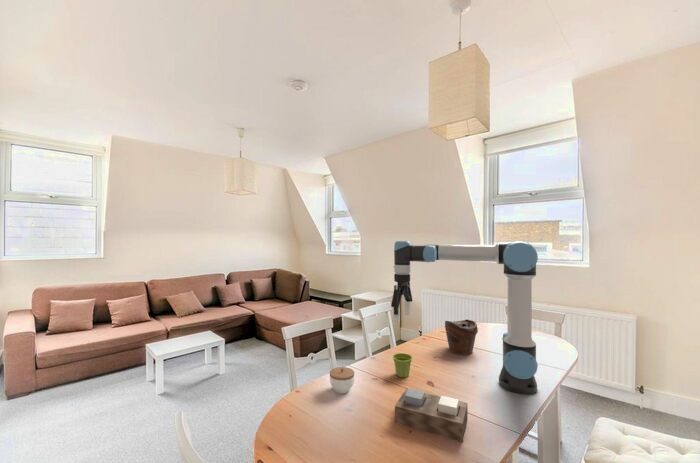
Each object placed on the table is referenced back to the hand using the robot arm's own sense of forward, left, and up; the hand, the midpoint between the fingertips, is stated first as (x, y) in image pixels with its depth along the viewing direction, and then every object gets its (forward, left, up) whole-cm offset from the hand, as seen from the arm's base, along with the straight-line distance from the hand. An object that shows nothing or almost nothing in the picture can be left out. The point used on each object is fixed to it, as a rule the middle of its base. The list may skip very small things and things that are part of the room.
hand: (402, 318), depth 147 cm
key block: (-20, +29, -28) cm, 45 cm away
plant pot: (0, -2, -28) cm, 28 cm away
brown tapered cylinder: (-21, -48, -28) cm, 59 cm away
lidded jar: (+19, +24, -28) cm, 42 cm away
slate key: (-14, +29, -23) cm, 40 cm away
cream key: (-26, +29, -23) cm, 46 cm away
